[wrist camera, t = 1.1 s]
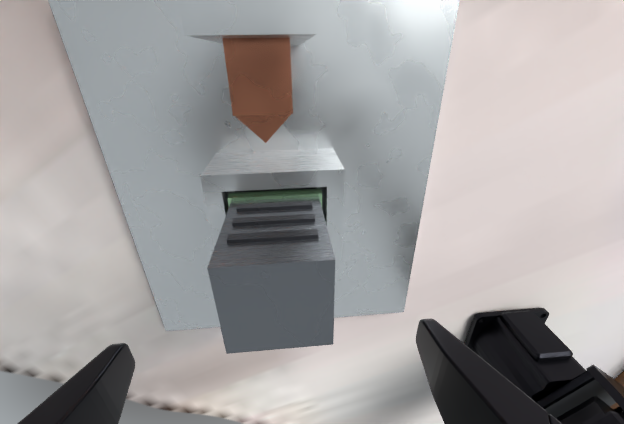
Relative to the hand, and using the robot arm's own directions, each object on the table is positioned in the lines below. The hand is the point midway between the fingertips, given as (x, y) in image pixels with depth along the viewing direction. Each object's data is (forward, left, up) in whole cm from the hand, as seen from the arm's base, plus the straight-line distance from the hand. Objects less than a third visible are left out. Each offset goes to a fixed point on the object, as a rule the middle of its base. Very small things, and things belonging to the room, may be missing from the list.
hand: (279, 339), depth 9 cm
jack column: (0, 0, -9) cm, 9 cm away
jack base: (0, 0, -11) cm, 11 cm away
